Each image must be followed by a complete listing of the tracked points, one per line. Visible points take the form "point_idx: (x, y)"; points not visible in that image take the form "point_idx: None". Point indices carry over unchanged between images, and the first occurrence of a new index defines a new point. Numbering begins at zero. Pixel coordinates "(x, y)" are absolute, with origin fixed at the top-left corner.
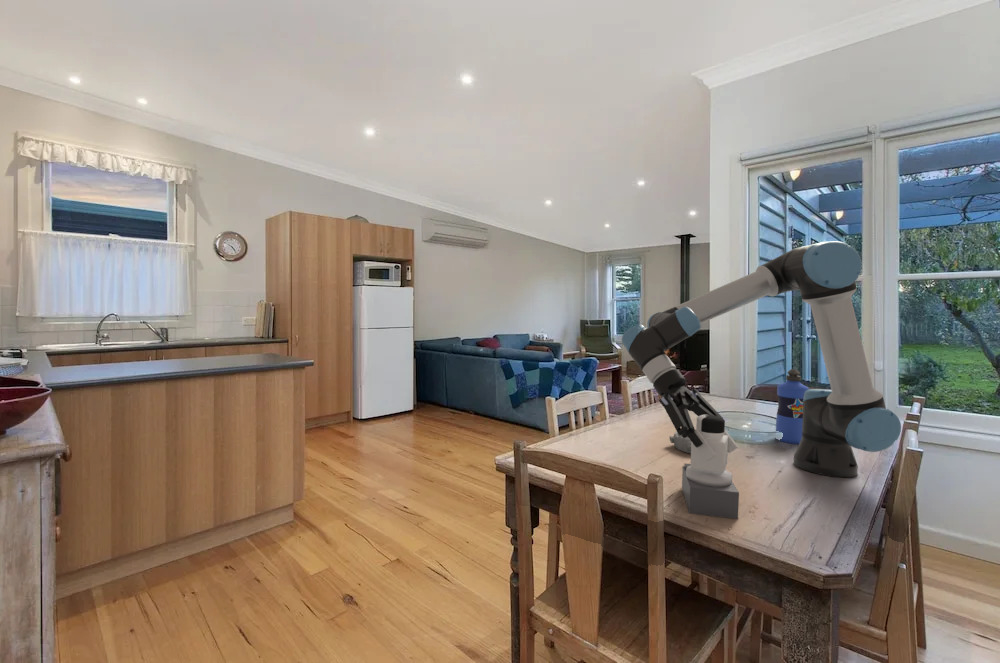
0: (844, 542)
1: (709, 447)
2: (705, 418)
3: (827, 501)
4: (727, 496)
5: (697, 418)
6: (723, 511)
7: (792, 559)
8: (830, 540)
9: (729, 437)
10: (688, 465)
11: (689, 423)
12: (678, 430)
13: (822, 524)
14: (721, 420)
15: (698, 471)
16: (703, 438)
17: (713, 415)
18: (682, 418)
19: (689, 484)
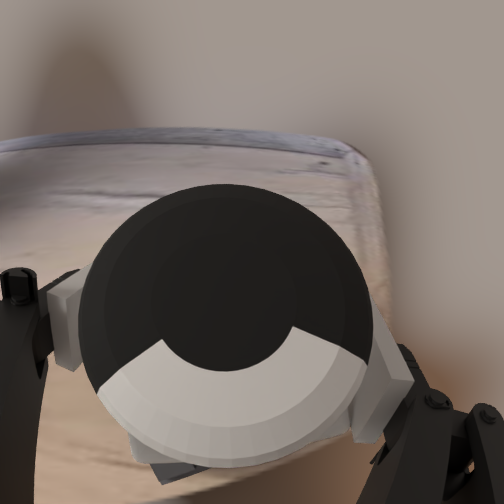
0: (238, 140)
1: (374, 307)
2: (347, 328)
3: (62, 174)
4: None
5: (311, 438)
6: None
7: (365, 191)
8: (246, 153)
9: None
10: (172, 464)
11: (444, 436)
12: (468, 468)
13: (181, 166)
14: (259, 191)
15: None
16: (382, 337)
17: (144, 284)
18: (500, 476)
19: None
